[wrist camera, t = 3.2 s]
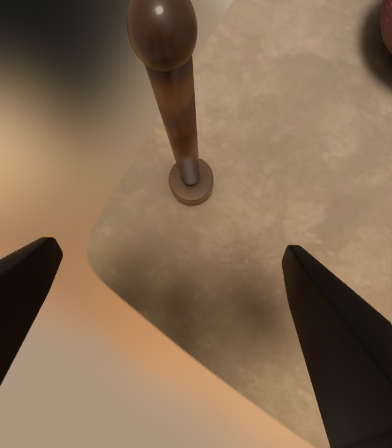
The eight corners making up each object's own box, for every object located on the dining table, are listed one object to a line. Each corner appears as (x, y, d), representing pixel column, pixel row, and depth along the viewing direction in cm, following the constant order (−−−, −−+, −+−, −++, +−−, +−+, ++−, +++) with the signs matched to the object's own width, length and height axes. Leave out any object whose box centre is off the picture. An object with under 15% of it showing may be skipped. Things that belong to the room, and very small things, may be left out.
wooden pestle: (191, 213, 21) (148, 96, 5) (164, 185, 22) (41, -10, 5) (220, 186, 22) (272, -13, 5) (193, 159, 22) (161, -107, 6)
